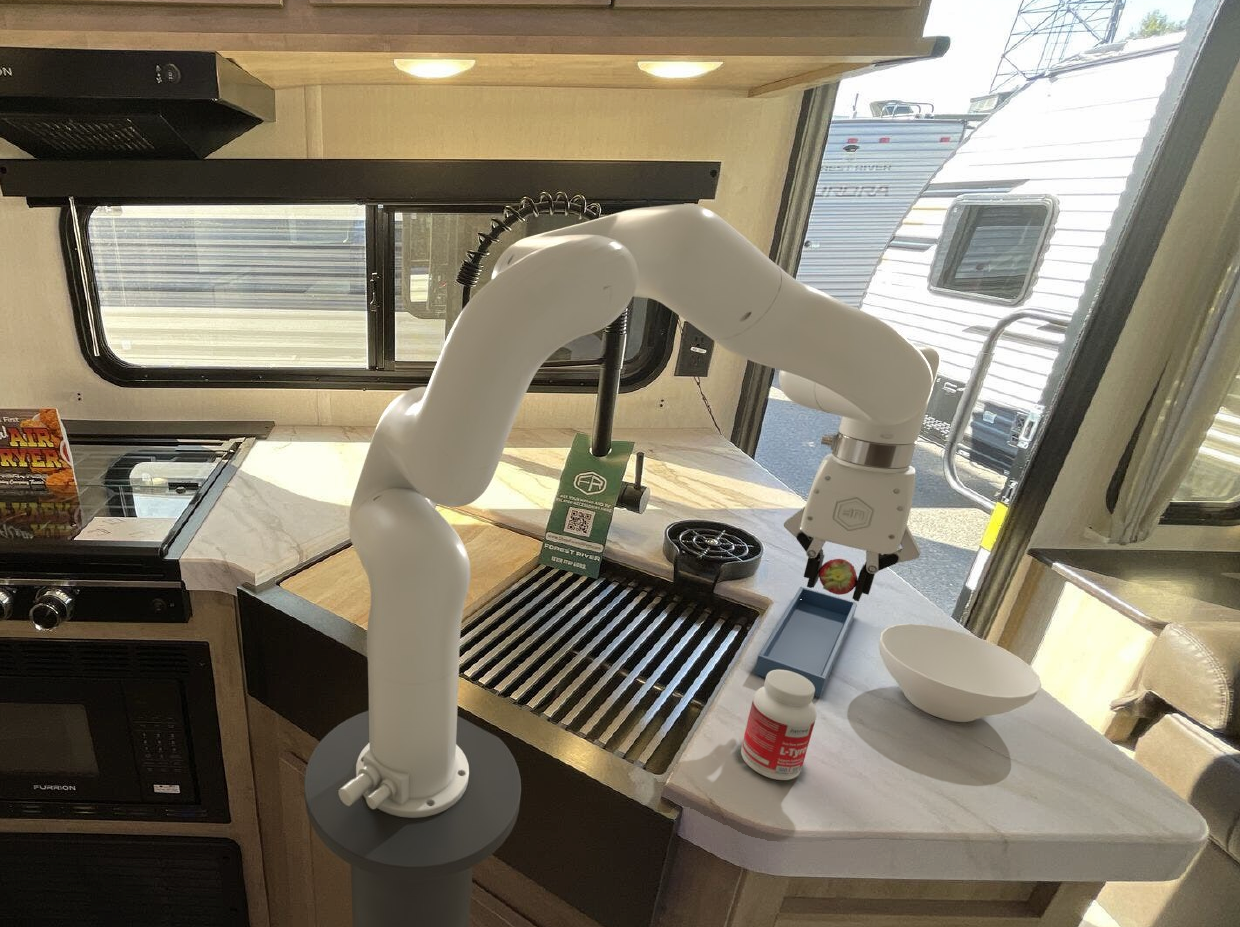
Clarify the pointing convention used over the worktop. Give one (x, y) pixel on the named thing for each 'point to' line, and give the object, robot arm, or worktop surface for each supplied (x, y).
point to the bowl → (955, 672)
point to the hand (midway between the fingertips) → (834, 589)
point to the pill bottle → (780, 725)
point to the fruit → (838, 576)
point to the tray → (808, 637)
